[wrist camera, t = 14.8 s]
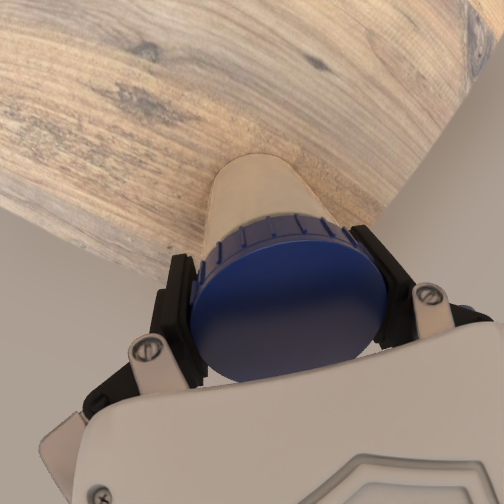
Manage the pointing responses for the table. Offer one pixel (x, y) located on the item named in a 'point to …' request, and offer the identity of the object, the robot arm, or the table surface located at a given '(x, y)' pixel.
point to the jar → (256, 197)
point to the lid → (285, 299)
